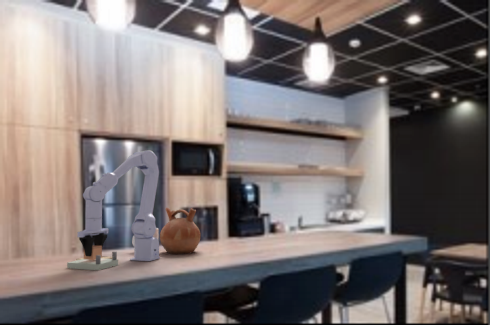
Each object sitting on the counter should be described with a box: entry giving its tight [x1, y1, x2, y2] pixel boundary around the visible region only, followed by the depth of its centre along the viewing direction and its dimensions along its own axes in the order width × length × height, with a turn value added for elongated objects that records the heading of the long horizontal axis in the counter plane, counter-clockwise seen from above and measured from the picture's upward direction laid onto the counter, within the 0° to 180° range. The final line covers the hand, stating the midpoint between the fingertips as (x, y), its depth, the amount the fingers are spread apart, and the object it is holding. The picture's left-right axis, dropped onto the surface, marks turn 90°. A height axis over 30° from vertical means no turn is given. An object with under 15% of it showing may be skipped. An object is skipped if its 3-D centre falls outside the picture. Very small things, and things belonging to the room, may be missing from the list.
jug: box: [159, 207, 201, 255], centre depth 188 cm, size 18×18×20 cm
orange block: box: [83, 244, 103, 260], centre depth 155 cm, size 5×5×4 cm
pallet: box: [75, 255, 112, 261], centre depth 167 cm, size 12×9×1 cm
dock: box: [66, 251, 119, 271], centre depth 155 cm, size 14×11×5 cm
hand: (93, 255), depth 155 cm, fingers closed on orange block, 5 cm apart
